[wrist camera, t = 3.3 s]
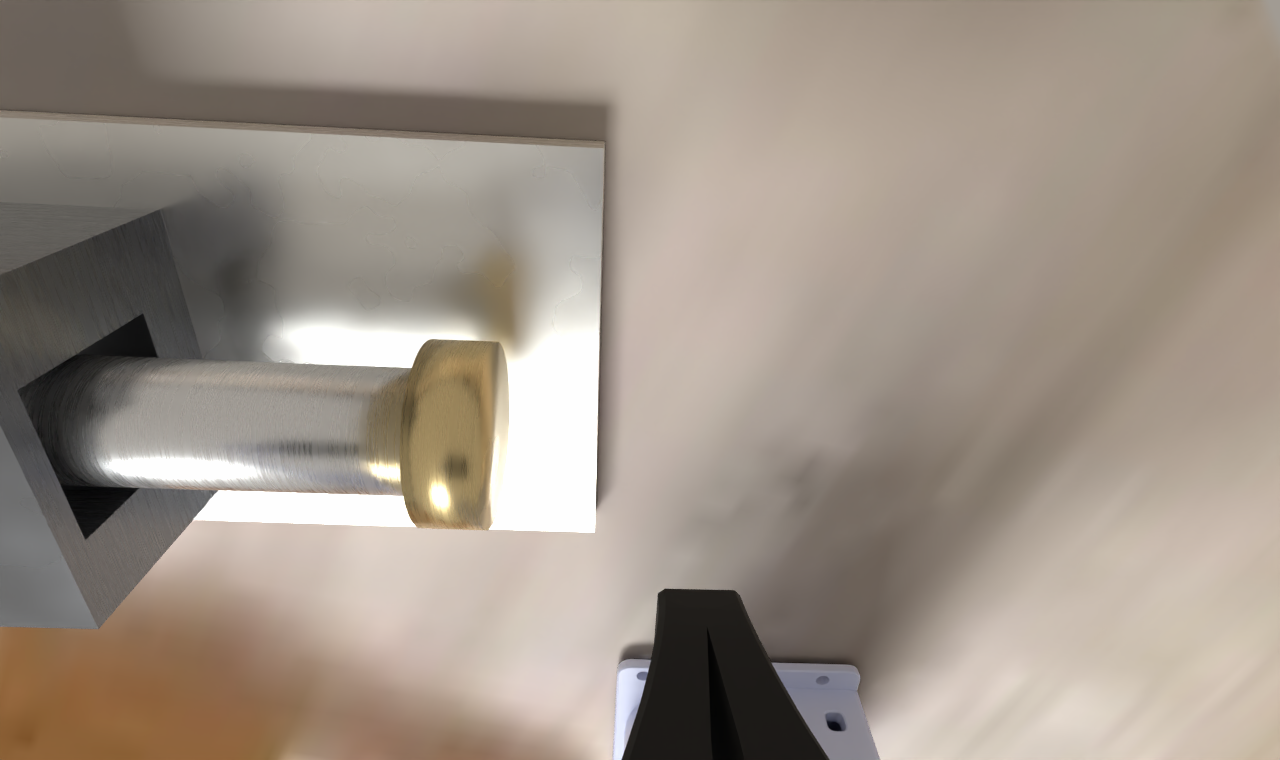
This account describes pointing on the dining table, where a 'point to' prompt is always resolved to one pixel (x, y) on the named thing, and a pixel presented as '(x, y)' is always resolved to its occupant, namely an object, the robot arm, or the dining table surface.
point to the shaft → (287, 427)
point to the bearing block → (283, 308)
